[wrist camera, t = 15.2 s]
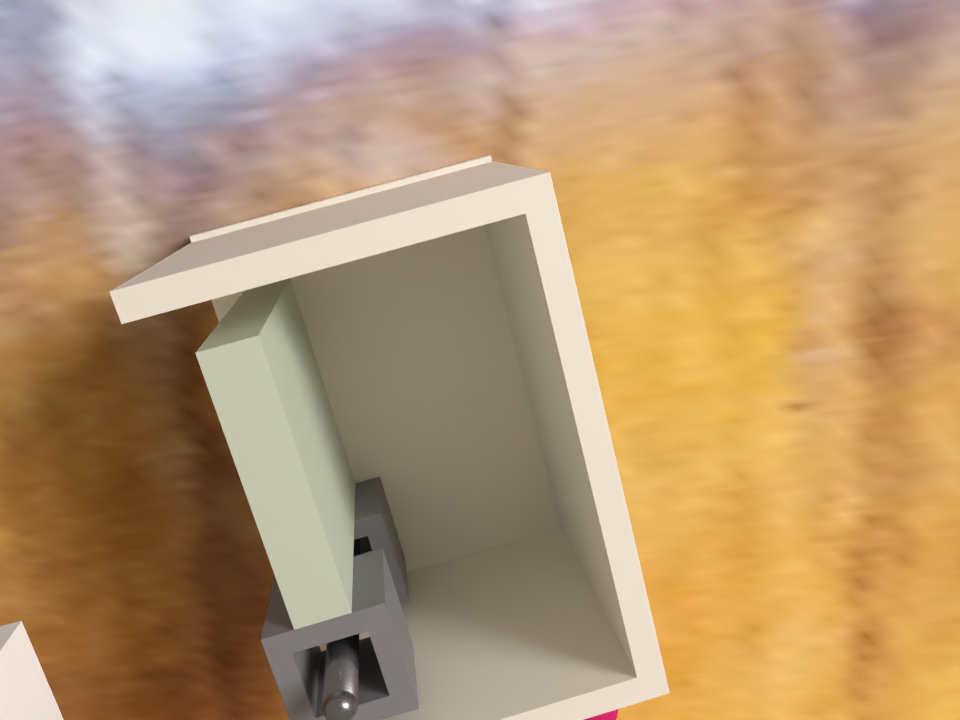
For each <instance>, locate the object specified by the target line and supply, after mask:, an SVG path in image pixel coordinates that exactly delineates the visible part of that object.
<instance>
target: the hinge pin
mask: <svg viewBox="0 0 960 720" xmlns="http://www.w3.org/2000/svg"><path fill="white" fill-rule="evenodd" d="M357 555H360V538H358V539H355V540H354V551H353V557H354V556H357ZM358 678H359V634H356V635H353V636H349V637H346V638H343V639H339V640H336V641H333V642H329V643H327V647H326V660H325V673H324V686H323V699H322V712H323V715H324V717H325V718H326V720H352V719H353V718H354V717H355V715H356V713H357V710H358Z"/></svg>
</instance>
